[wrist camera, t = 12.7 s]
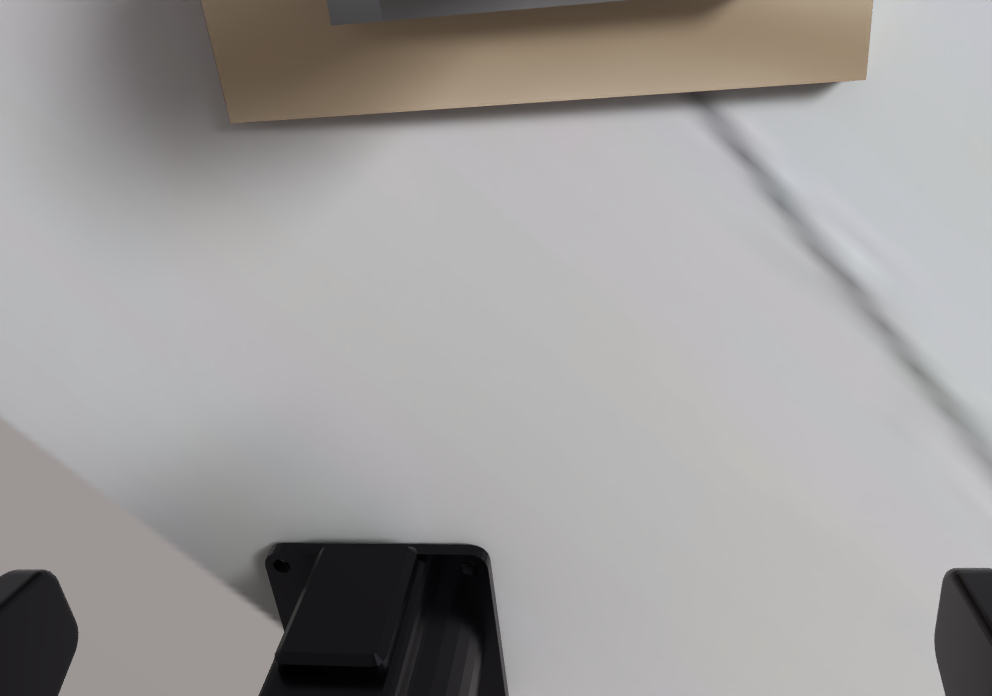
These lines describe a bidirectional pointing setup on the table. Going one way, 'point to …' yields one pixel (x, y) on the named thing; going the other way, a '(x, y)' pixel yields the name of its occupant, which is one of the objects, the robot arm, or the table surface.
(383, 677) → the robot arm
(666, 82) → the board
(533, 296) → the table surface
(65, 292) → the table surface
